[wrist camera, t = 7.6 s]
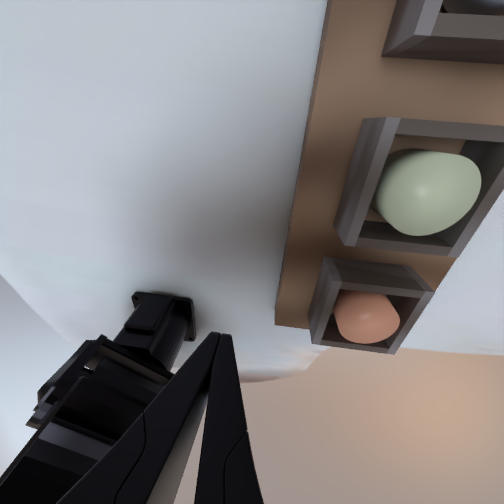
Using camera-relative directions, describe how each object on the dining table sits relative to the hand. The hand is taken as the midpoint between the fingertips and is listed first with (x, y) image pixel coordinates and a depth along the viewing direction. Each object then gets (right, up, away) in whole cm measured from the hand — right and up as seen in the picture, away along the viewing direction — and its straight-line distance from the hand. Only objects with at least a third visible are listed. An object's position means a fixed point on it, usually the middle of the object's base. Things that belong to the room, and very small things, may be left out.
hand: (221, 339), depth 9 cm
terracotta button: (+10, 0, +9) cm, 13 cm away
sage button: (+10, +8, +4) cm, 14 cm away
